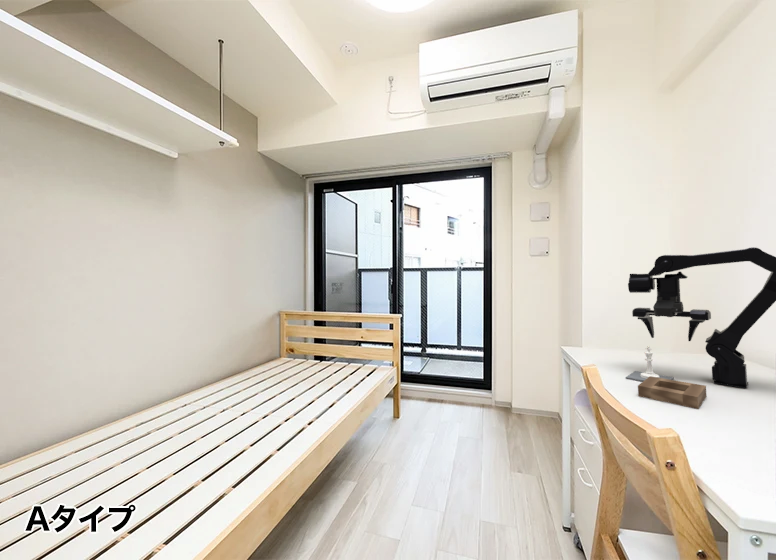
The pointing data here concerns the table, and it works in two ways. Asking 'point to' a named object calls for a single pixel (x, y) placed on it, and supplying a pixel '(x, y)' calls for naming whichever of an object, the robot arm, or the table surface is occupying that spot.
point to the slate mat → (637, 377)
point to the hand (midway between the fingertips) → (670, 339)
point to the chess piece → (649, 365)
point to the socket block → (673, 391)
